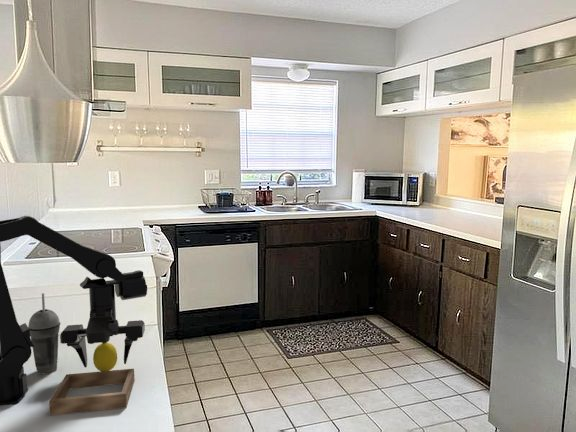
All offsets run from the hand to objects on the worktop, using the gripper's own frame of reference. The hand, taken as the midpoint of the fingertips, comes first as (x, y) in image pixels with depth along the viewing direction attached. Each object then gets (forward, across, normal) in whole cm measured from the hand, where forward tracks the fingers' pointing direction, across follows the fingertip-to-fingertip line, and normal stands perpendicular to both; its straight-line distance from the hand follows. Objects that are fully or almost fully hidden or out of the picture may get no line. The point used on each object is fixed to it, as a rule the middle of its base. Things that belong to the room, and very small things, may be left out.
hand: (105, 365), depth 115 cm
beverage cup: (+2, -15, +5) cm, 16 cm away
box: (+2, 0, -12) cm, 13 cm away
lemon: (+2, 0, 0) cm, 2 cm away
